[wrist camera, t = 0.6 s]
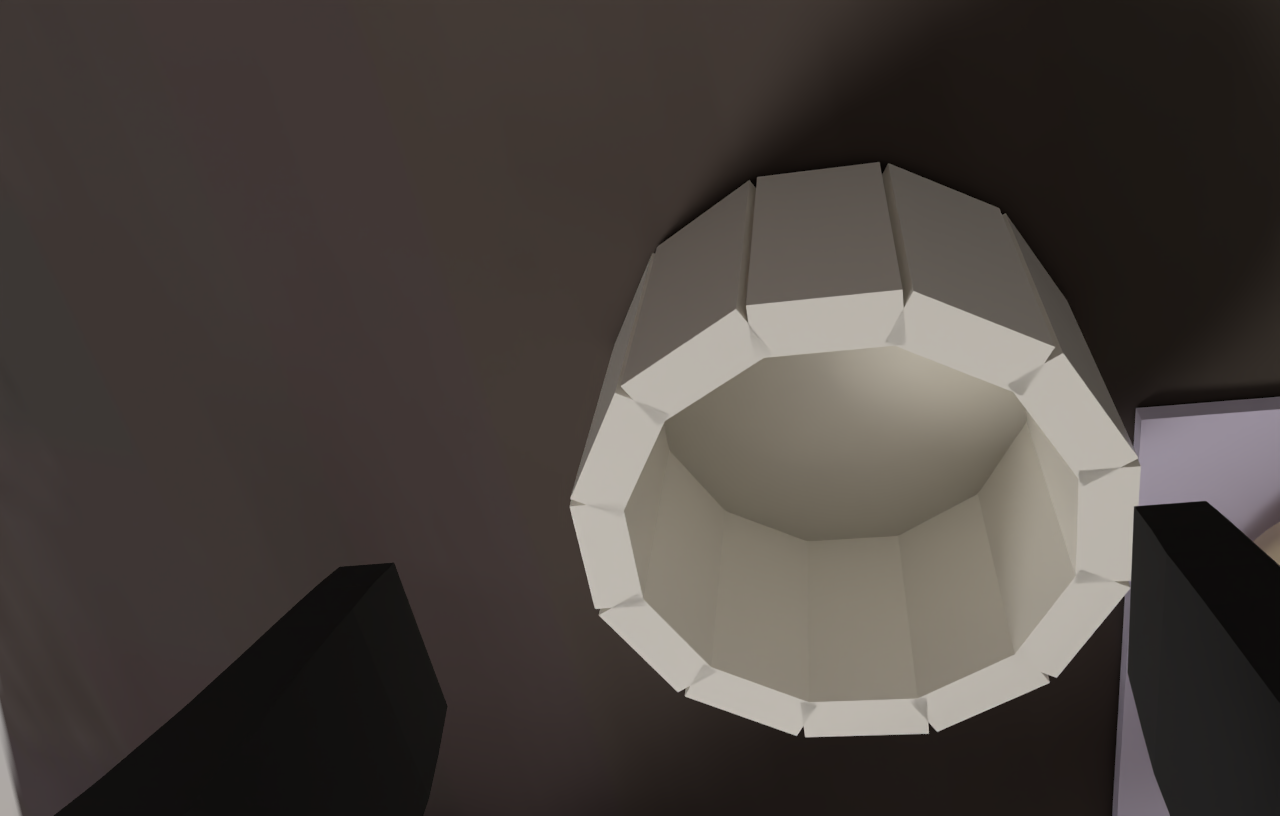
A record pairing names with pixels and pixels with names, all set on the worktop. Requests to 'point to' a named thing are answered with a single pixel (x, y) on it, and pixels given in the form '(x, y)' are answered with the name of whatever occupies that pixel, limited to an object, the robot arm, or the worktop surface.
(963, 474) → the bowl
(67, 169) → the worktop surface
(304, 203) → the worktop surface
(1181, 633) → the robot arm
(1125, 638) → the mat
